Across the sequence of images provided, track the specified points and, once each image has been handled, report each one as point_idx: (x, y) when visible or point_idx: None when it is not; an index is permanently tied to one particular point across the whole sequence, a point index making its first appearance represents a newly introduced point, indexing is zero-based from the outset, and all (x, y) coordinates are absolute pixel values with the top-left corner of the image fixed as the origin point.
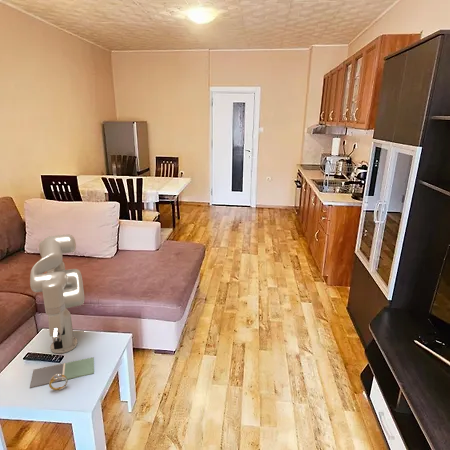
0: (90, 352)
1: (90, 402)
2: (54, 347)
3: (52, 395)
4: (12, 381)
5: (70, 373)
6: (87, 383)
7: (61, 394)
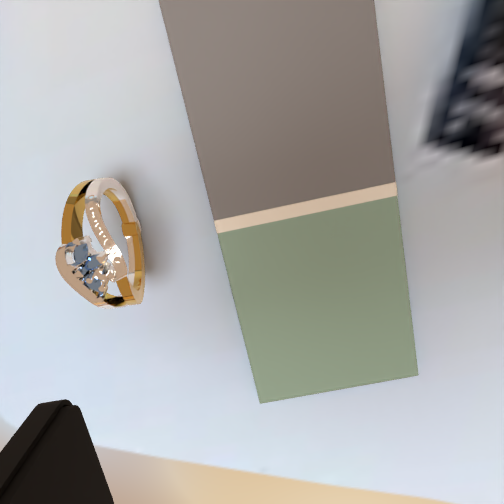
0: (485, 337)
1: None
2: (19, 437)
3: None
4: None
5: (273, 262)
6: (179, 377)
7: None
